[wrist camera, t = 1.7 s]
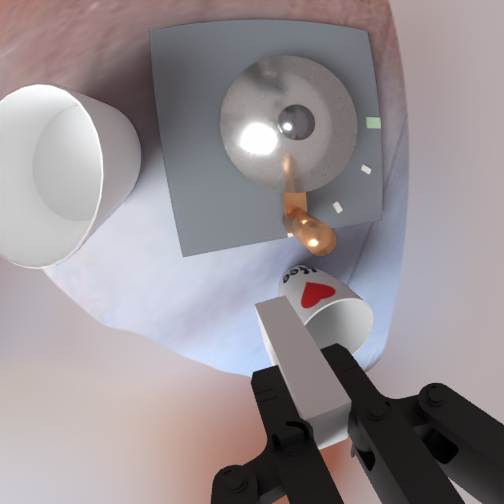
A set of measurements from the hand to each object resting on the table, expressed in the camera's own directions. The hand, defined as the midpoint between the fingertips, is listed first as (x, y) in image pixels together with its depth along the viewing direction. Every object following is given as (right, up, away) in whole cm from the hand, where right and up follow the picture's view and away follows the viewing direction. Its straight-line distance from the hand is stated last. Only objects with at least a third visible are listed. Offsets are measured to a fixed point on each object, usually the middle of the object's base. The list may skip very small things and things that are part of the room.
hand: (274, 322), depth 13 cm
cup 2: (+4, 0, +20) cm, 20 cm away
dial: (+2, +13, +11) cm, 17 cm away
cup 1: (-17, +12, +10) cm, 23 cm away
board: (+1, +16, +12) cm, 20 cm away
